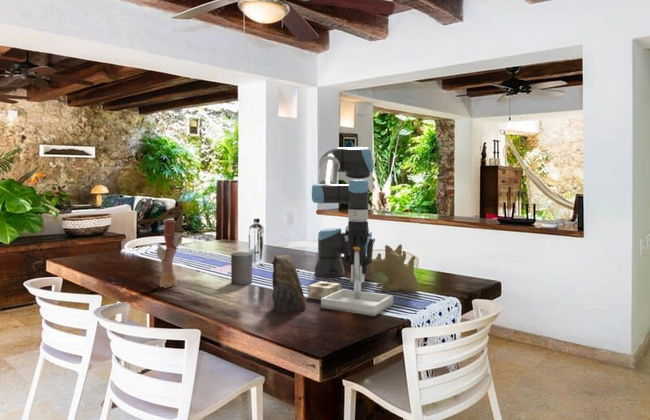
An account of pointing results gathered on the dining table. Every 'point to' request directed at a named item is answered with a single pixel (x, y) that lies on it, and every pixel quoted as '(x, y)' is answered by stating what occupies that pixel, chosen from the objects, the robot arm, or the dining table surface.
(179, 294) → the dining table surface
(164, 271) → the abstract sculpture
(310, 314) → the dining table surface
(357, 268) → the steel pin
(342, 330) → the dining table surface
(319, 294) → the pin block
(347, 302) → the tray
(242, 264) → the pillar candle
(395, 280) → the decorative coral
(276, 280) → the brown rock
